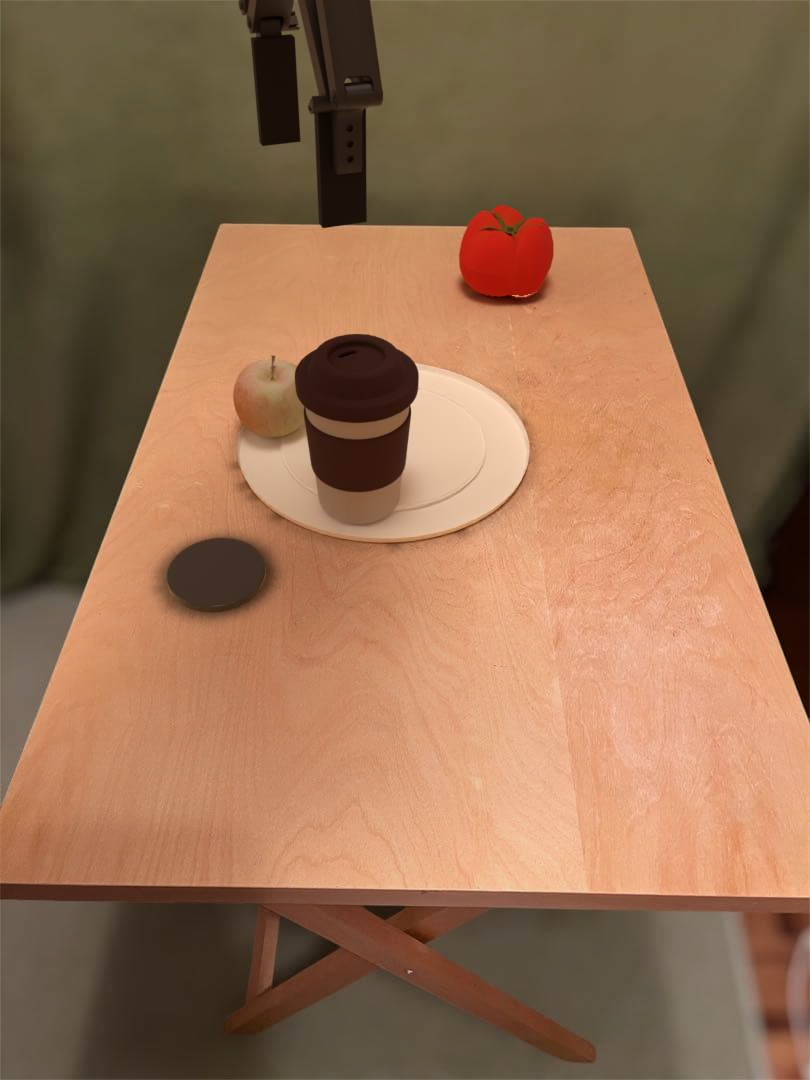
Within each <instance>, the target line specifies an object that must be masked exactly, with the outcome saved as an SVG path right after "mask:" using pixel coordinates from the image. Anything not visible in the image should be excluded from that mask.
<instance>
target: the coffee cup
mask: <svg viewBox="0 0 810 1080" xmlns="http://www.w3.org/2000/svg"><path fill="white" fill-rule="evenodd" d="M415 363H416V362H414V360H413V359H412V357H410V356H409V355H408V354H407V353H405V352H404V351H402V350H400V349H398V348H397V347H396V346H395V345H393V343H391V342H389V341H388V340H386V339H384V338H383V337H382V338H381V337H379V336H376V335H371V334H366V333H347V334H343V335H338V336H335V337H332V338H329V339H327V340H325V341H324V342H322V343H321V344H319V346H317V347H316V349H313V350H312V351H310V352H309V353H307V354H306V355H305V356H303V357H302V358H301V359H300V361H299V362H298V364H297V365H296V366H297V368H296V370H295V388H296V394H297V397H298V399H299V400H300V402H301V403H302V404H303V405H304V420H305V427H306V433H307V440H308V447H309V453H310V460H311V466H312V469H313V472H314V473H315V477H316V484H317V491H318V497H319V502H320V504H321V506H322V508H323V509H324V511H325V512H326V513H327V514H329V515H330V516H331V517H333V518H335V519H337V520H340V521H343V522H346V523H352V524H365V523H371V522H375V521H378V520H380V519H382V518H384V517H386V516H387V515H389V514H390V513H391V512H392V511H393V510H394V509H395V507H396V506H397V504H398V501H399V498H400V488H401V479H402V473H403V471H404V468H405V464H406V456H407V447H408V438H409V429H410V421H411V406H410V405H411V404H412V403H413V401H414V400H415V398H416V396H417V393H418V384H419V372H418V369H417V366H416V365H415Z"/></svg>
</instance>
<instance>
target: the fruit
mask: <svg viewBox="0 0 810 1080" xmlns="http://www.w3.org/2000/svg"><path fill="white" fill-rule="evenodd" d="M270 357H271V359H259V360H256V361H253V362H251V363H249V364H247V365H246V366H244V367H243V369H242V370H241V371H240V372H239V374H238V376H237V378H236V380H235V383H234V386H233V393H232V398H233V405H234V409H235V413H236V415H237V417H238V419H239V420H240V423H242V424H243V425H244V426H245V427H246V428H247V429H248V430H249V431H251V432H252V433H254V434H256V435H259V436H263V437H281V436H286V435H288V434H291V433H292V432H294V431H296V430H297V429H298V428H300V427H301V426H302V425H303V424H304V423H305V420H304V405H303V404H302V403H301V402H300V400H299V399H298V397H297V394H296V388H295V370H296V368H297V366H298V365H296V364H294V363H292V362H290V361H288V360H283V359H276V355H275V354H273V355H270Z"/></svg>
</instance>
